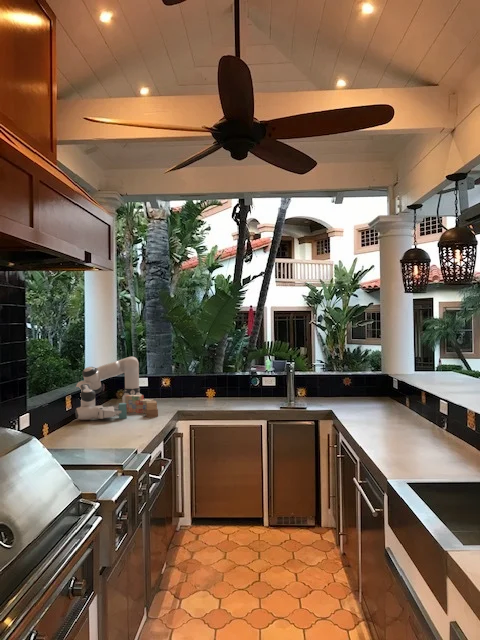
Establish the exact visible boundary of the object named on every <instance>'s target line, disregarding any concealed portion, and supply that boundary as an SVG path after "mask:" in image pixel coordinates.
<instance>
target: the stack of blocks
mask: <svg viewBox="0 0 480 640" xmlns="http://www.w3.org/2000/svg"><path fill="white" fill-rule="evenodd" d="M147 401H155V399H151V398H150V399H148V398H145V397H144V394H142V395H127V396H125V403H126V406H127V413H133V412H136V413H135V414H138V413H139V414H145V409H146V402H147Z"/></svg>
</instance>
